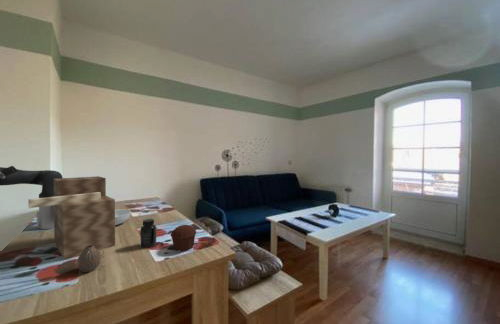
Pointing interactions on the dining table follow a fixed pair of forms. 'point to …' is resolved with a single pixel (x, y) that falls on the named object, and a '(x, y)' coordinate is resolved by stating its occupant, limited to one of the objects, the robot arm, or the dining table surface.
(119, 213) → the serving bowl
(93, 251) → the brown egg-shaped lump
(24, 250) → the dining table surface
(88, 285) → the dining table surface
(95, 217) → the walnut stand
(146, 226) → the supplement bottle
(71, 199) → the birch rod
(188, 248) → the muffin
